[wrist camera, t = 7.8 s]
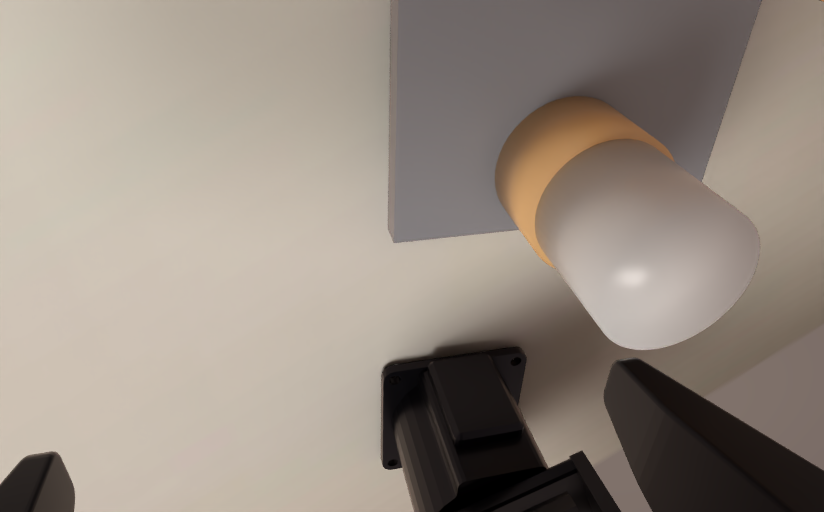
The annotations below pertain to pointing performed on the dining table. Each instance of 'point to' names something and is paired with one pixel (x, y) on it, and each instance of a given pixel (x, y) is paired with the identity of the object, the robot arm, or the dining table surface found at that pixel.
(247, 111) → the dining table surface
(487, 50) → the junction plate
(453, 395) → the robot arm
